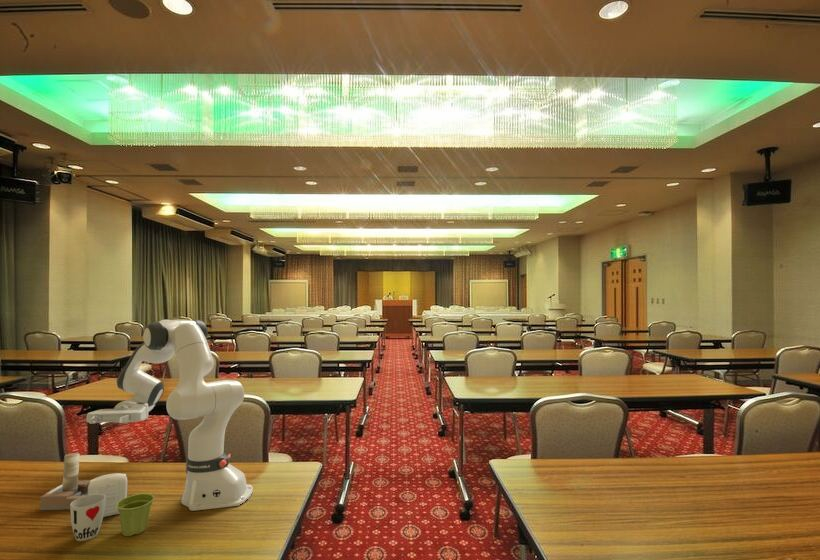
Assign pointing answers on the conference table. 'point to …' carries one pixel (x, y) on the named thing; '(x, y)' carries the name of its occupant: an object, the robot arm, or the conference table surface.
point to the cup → (87, 516)
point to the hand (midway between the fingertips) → (104, 421)
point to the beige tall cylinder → (71, 473)
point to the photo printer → (110, 490)
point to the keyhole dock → (62, 497)
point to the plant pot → (134, 513)
